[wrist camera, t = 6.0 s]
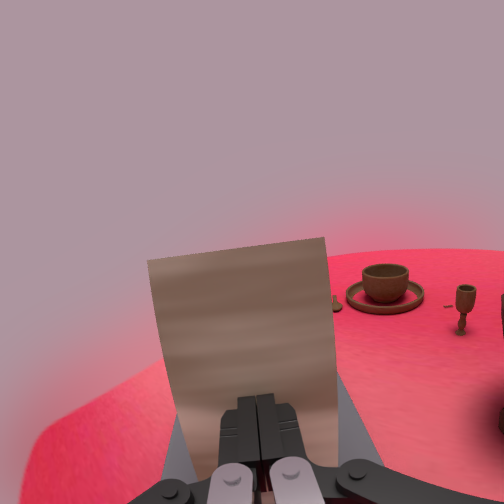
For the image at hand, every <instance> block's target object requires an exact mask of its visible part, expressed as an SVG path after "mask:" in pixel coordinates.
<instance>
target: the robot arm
mask: <svg viewBox="0 0 504 504" xmlns="http://www.w3.org/2000/svg"><path fill="white" fill-rule="evenodd" d="M256 398H257V404H256ZM256 398H255V395H254V396H245V397H238V398H237V409H233V410H226V411H225V413H224V414H223V416H222V417H221V421H220V438H219V455H218V467H217V469H216V470H215V471H214V472H213V474H212V475H211V476H210V477H209V478H207V479H205V480H202V481H199V482H195V483H191V484H186V483H185V482H183V481H181V480H179V479H172V478H171V479H164V480H161V481H159V482H158V483H156V484H155V485H153V486H152V487H151V488H149V489H148V490H146V491H145V492H144V493H142V494H141V495H139V496H138V497H136V498H135V499H133V500H132V501H131V502H129V503H128V504H262V499H261V493H262V492H267V488H266V481H267V486H268V491H269V492H271V491H273V495H274V500H275V504H504V502H499V501H494V500H489V499H484V498H480V497H475V496H471V495H467V494H463V493H460V492H456V491H452V490H449V489H446V488H442V487H439V486H436V485H433V484H430V483H427V482H424V481H421V480H418V479H415V478H412V477H409V476H407V475H404V474H401V473H399V472H396V471H394V470H391V469H389V468H386V467H384V466H381V465H379V464H376V463H374V462H372V461H369V460H367V459H352V460H349V461H347V462H345V463H344V464H342V465H341V466H340V467H323V466H319V465H316V464H314V463H313V462H311V461H310V460H309V459H308V457H307V455H306V452H305V448H304V443H303V439H302V435H301V431H300V428H299V423H298V420H297V415H296V411H295V409H294V408H293V407H292V406H291V405H290V404H289V403H282V404H275V398H274V393H269V394H261V395H256ZM257 409H258V410H257ZM265 476H266V478H265Z"/></svg>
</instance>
